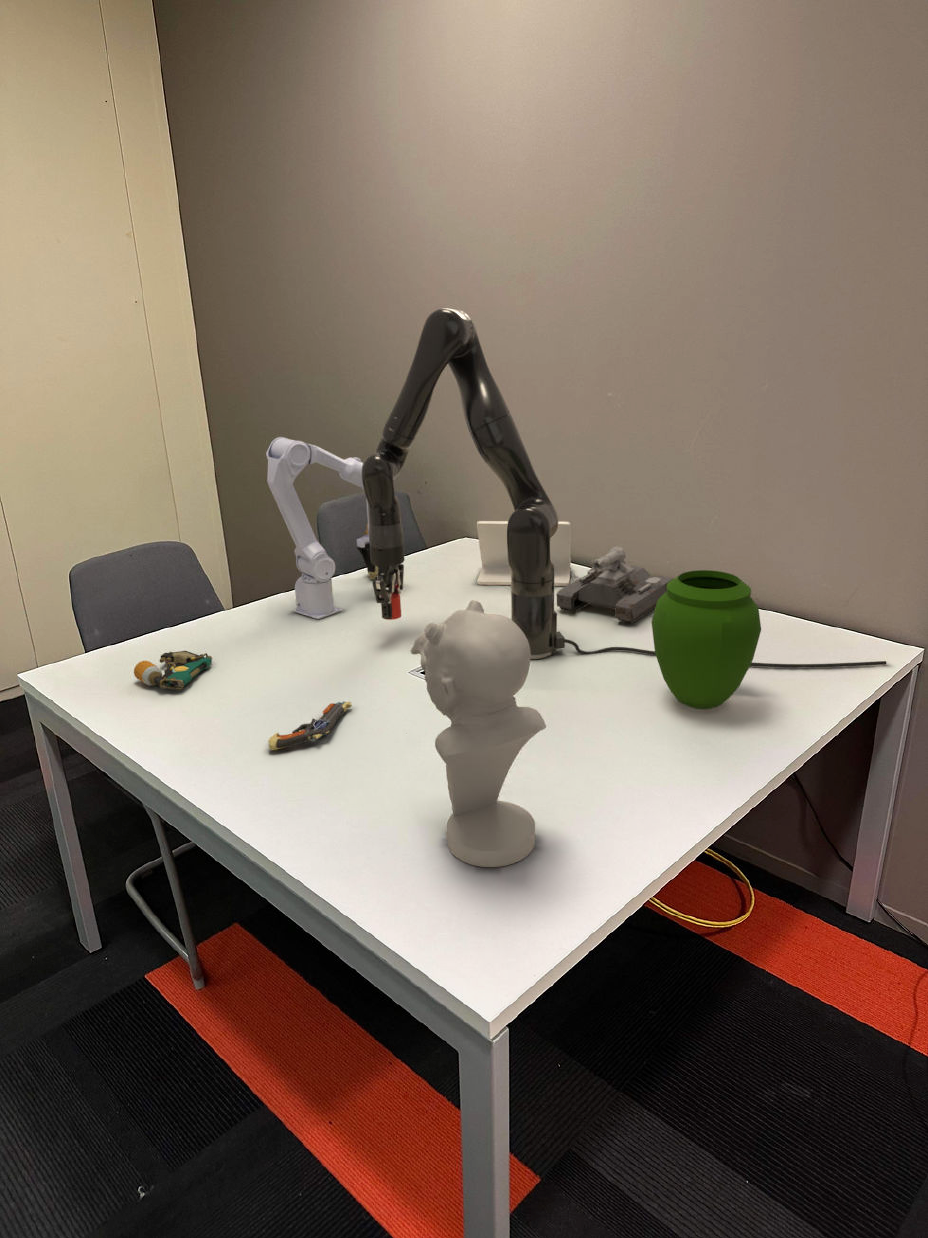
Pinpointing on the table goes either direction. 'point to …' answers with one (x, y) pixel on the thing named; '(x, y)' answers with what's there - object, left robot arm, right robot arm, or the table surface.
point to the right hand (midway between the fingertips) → (391, 614)
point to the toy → (614, 588)
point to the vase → (705, 636)
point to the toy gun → (311, 727)
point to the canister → (395, 606)
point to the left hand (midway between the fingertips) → (381, 567)
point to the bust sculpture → (481, 729)
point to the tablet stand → (497, 555)
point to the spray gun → (172, 669)
